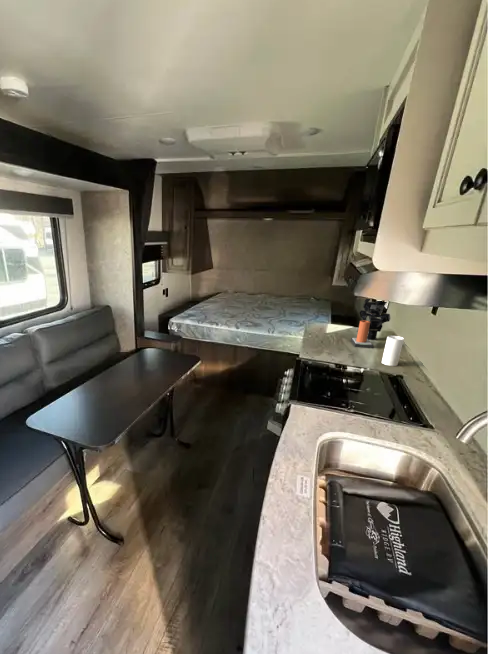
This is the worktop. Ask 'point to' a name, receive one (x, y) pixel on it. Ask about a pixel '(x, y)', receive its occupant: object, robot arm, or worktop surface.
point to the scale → (360, 344)
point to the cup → (392, 350)
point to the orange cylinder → (363, 331)
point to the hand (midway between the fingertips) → (369, 325)
